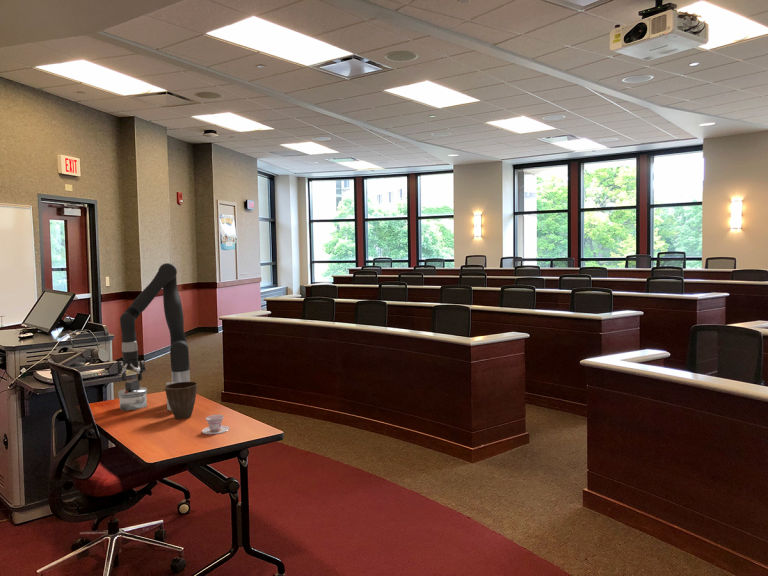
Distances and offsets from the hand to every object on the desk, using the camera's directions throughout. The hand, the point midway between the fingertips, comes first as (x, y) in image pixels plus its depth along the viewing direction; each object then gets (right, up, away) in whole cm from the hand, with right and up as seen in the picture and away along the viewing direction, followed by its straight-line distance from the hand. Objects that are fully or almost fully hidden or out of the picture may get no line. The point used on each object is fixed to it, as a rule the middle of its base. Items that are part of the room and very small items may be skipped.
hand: (132, 380), depth 301 cm
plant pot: (+34, -15, -20) cm, 42 cm away
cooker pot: (0, -14, +1) cm, 14 cm away
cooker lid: (0, -6, 0) cm, 6 cm away
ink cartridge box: (+26, -14, -6) cm, 30 cm away
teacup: (+56, -16, -43) cm, 73 cm away
